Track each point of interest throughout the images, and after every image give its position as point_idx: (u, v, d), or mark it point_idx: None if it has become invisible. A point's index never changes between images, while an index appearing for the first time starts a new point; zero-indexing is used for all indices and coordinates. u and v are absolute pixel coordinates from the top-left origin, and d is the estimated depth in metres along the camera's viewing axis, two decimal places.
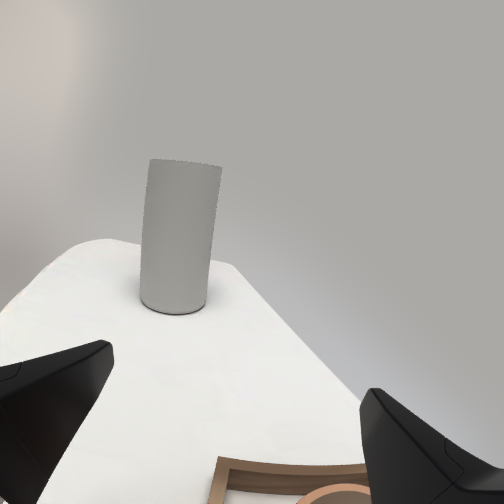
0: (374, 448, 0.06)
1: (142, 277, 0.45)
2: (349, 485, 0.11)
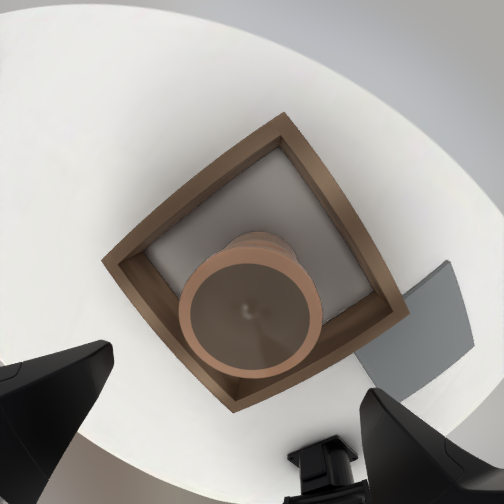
0: (374, 448, 0.06)
1: None
2: (215, 260, 0.12)
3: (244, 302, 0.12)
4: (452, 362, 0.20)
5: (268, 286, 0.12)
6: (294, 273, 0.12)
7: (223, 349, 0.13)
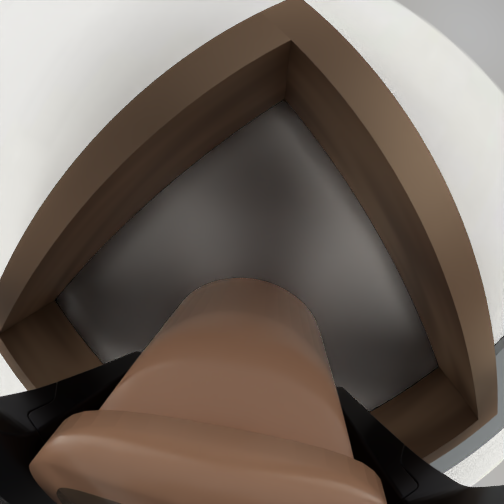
0: None
1: None
2: (57, 470, 0.02)
3: None
4: (503, 426, 0.10)
5: None
6: None
7: None
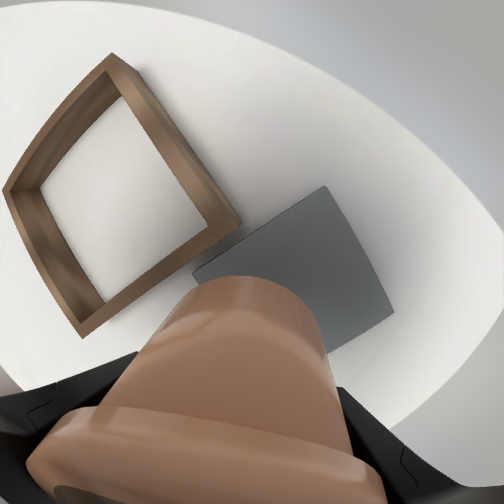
0: None
1: None
2: (53, 467, 0.02)
3: None
4: (359, 331, 0.19)
5: None
6: None
7: None
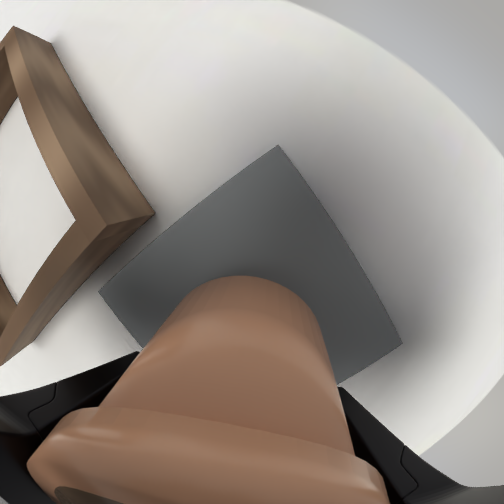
0: None
1: None
2: (55, 468, 0.02)
3: None
4: (348, 372, 0.12)
5: None
6: None
7: None
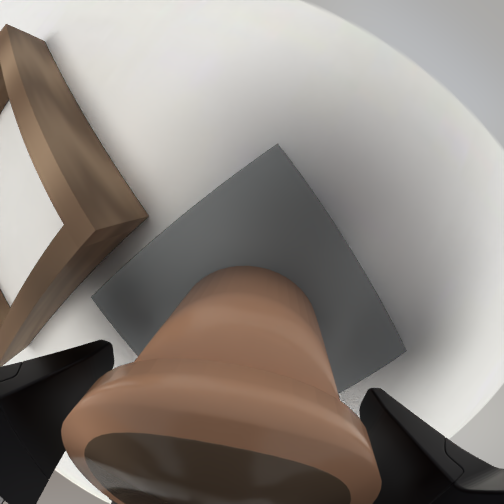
0: (374, 448, 0.06)
1: None
2: (98, 412, 0.03)
3: (193, 489, 0.03)
4: (350, 381, 0.12)
5: (252, 480, 0.03)
6: (330, 459, 0.03)
7: None
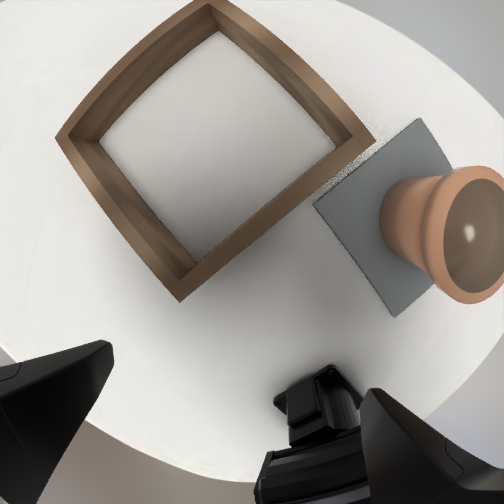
0: (374, 448, 0.06)
1: None
2: (463, 174, 0.09)
3: (482, 216, 0.09)
4: None
5: (494, 201, 0.09)
6: None
7: (464, 272, 0.10)
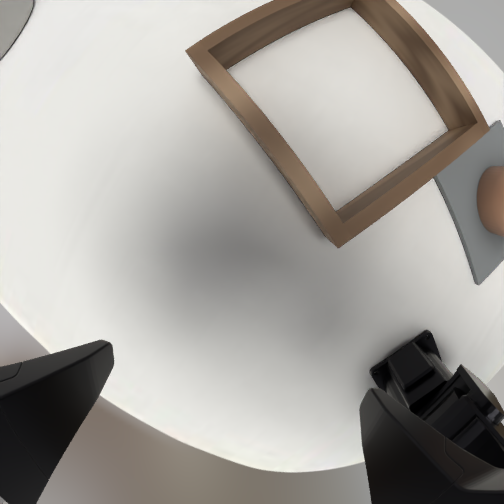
0: (374, 448, 0.06)
1: None
2: None
3: None
4: None
5: None
6: None
7: None
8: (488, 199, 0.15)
